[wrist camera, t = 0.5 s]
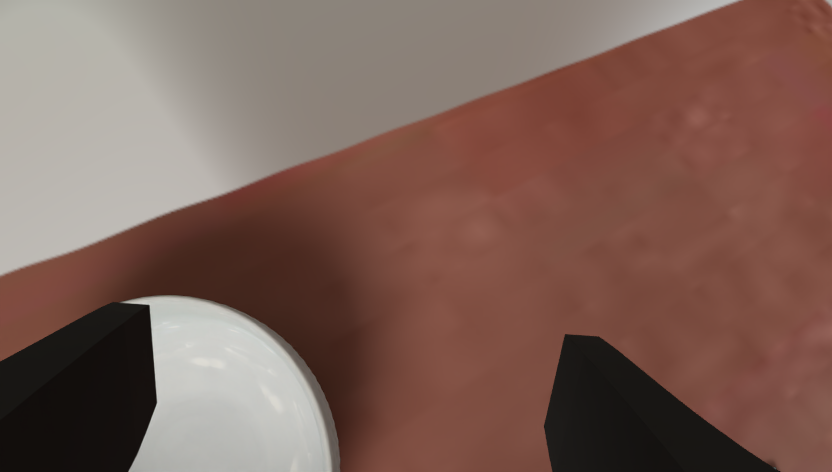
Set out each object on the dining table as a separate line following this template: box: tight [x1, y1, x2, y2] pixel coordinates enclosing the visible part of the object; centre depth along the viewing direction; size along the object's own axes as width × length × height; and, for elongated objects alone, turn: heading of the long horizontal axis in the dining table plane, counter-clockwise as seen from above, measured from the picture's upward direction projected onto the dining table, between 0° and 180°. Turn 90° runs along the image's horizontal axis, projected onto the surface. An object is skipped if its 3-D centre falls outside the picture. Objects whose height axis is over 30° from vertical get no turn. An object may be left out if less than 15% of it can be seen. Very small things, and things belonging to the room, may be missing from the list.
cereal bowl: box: [120, 295, 341, 472], centre depth 32 cm, size 17×17×7 cm
